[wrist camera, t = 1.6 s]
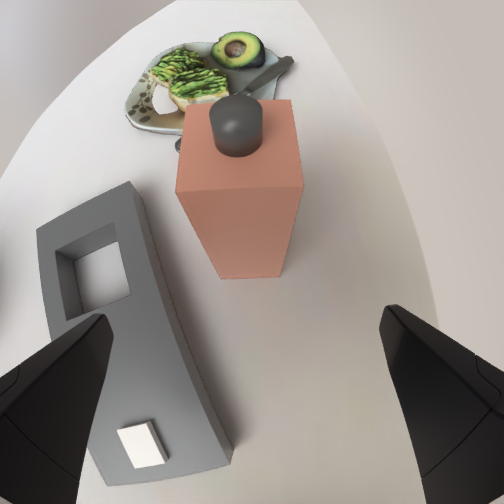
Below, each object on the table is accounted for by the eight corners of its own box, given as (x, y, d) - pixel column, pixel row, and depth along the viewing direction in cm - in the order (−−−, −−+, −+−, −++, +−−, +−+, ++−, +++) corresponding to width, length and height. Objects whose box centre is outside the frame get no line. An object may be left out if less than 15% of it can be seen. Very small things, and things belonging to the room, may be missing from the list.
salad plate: (271, 176, 25) (274, 143, 21) (101, 157, 27) (82, 130, 22) (295, 58, 31) (298, 30, 27) (166, 51, 33) (160, 26, 28)
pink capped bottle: (279, 277, 22) (310, 160, 8) (220, 279, 22) (163, 168, 8) (276, 223, 23) (293, 73, 10) (220, 225, 24) (179, 79, 10)
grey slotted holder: (233, 450, 18) (228, 469, 14) (122, 474, 17) (102, 490, 13) (141, 198, 25) (125, 175, 21) (54, 240, 24) (31, 225, 20)
